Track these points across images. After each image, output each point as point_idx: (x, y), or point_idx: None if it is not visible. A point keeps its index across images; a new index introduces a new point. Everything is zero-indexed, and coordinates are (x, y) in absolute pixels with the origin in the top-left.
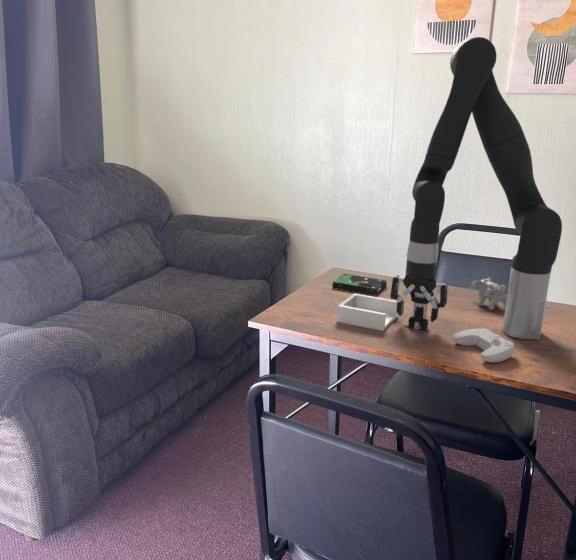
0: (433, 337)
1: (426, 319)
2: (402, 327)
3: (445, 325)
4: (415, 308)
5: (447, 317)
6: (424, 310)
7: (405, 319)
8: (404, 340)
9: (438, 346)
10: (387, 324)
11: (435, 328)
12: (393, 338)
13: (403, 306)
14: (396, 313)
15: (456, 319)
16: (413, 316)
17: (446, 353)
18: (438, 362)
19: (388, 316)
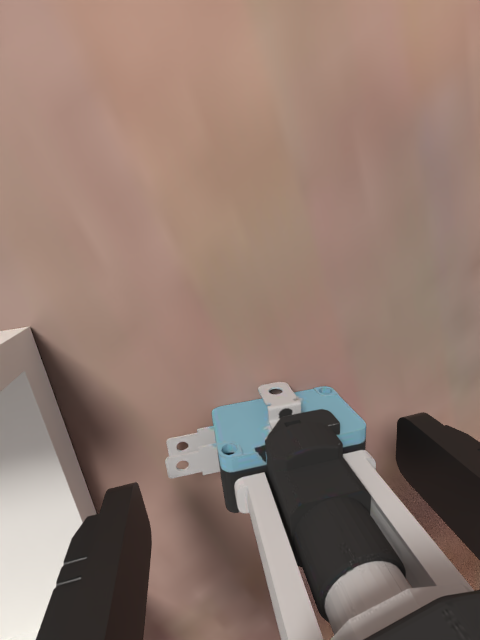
0: (390, 472)
1: (359, 448)
2: (188, 477)
3: (417, 252)
4: (287, 552)
5: (402, 40)
6: (397, 551)
7: (178, 461)
8: None
9: (430, 536)
10: None
11: (371, 350)
12: (223, 614)
13: (124, 569)
14: (18, 374)
15: (474, 47)
16: (246, 466)
17: (468, 563)
18: None
19: (5, 463)
